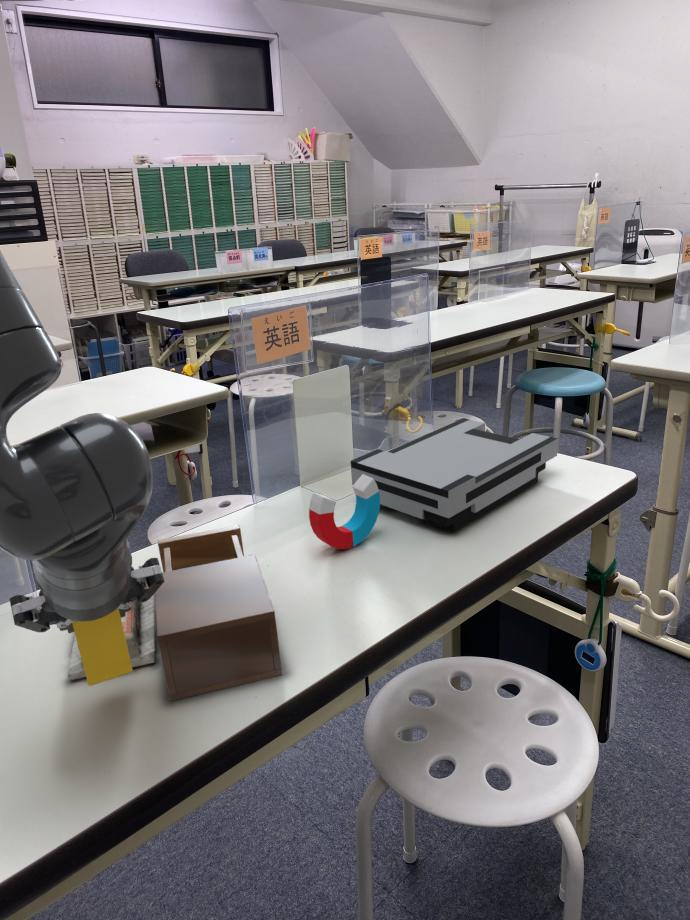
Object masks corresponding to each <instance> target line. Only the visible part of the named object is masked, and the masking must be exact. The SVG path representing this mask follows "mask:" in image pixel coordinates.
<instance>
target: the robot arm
mask: <svg viewBox="0 0 690 920" xmlns="http://www.w3.org/2000/svg"><path fill="white" fill-rule="evenodd" d="M62 368H63V367H62V360H61V358H60V355H59V353H58V351H57V349H56V347H55V345H54V344H53V341H52V340H51V338H50V336H49V334H48V333H47V331H46V330H45V328H44V325H43V324H42V322H41V320H40V318H39V317H38V314H37V313H36V312H35V310H34V308H33V306H32V305H31V303H30V301H29V299H28V297H27V295H26V294H25V292H24V290H23V288H22V287H21V286H20V283H19V281H18V279H17V278H16V277H15V274H14V273H13V271H12V269H11V268H10V266H9V264H8V262H7V260H6V259H5V256H4V255H3V253H2V250H0V549H1V550H2V551H3V552H5V553H6V554H8V555H10V556H13V557H14V558H18V559H20V560H23V561H31V562H32V570H33V574H34V576H35V583H36V585H37V586H38V589H39V592H38V596H35V597H34V595H27V596H26V595H24V594H16V595H14V596H11V597H10V598H9V603H10V604H9V605H10V609H11V610H10V611H11V615H12V618H13V619H12V620H13V624H14V626H15V627H20V628H23V629H25V630H29V631H32V632H35V633H45V632H48V631H49V630H50V629H51V626H53V625H56V628H57V629H59V632H60V631H61V632H64V631H67V633H68V634H72V633H75V632H74V628H73V624H72V623H74V622H77V621H93V620H97V619H100V618H102V617H105V616H107V615H108V614H110V613H112V612H113V611H115V610H117V609H119V612H120V617H121V618H122V617H125V616H126V614H125V612H127V611H130V610H131V606H132V602H133V601H135V600H138V602H146V601H147V600H149V599H150V598H151V597H152V596H153V594H154V593H155V592H156V591H157V590H158V589H159V587H160V586H161V585H162V584H163V583H164V578H163V574H162V573H163V570H162V566H161V564H160V562H159V557H150V558H149V559H147V560H145V562H144V563H143V564H140V565H139V566H138V568H134V567H133V555H132V552H131V546H130V543H129V539H128V537H129V536H130V535H131V533H132V532H133V531H134V529H135V527H136V526H137V524H138V523H139V522H140V520H141V518H142V517H143V515H144V514H145V512H146V511H147V508H148V505H149V503H150V500H151V497H152V493H153V488H154V487H153V486H154V474H153V473H154V472H153V464H152V460H151V456H150V454H149V450H148V448H147V446H146V444H145V442H144V440H143V439H142V437H141V436H140V434H139V433H138V431H136V430H135V429H134V428H133V426H131V425H130V424H129V423H128V422H126V421H124V420H123V419H120V417H117V416H115V415H112V414H108V413H104V412H103V413H102V412H94V413H87V414H84V415H80V416H77V417H76V418H73V419H70V420H68V421H66V422H64V423H61V424H60V425H58V426H55V427H54V428H51V429H49V430H47V431H44V432H43V433H40V434H38V435H36V436H34V437H31V438H29V439H27V440H25V441H23V442H20V443H19V444H15V445H11V444H10V441H9V439H8V433H7V428H8V423H9V422H10V420H11V418H12V417H13V416H14V414H16V413H17V412H18V411H19V410H20V409H21V408H22V407H24V406H25V405H26V404H28V403H29V402H31V401H32V400H34V399H35V398H36V397H38V396H40V395H41V394H42V393H44V392H45V391H46V390H48V389H49V388H50V387H52V386H53V384H55V382H56V381H57V380H58V379H59V377H60V375H61V374H62Z"/></svg>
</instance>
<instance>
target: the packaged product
mask: <svg viewBox="0 0 690 920" xmlns="http://www.w3.org/2000/svg"><path fill="white" fill-rule="evenodd" d="M125 614H126V616H125V617H122V618H121V621H122V626H123V630H124V634H125V639H126V643H127V647H128V652H129V656H130V660H131V665H132V668H136V667H140V666H144V665H145V666H146V665H150V664H154V663H155V659H156V643H155V642H156V631H157V620H156V601H155V593H154V594H153V596H152V597H151V598H150V599H149V600H147V601H146V602H138V600H135V601H133V602H132V606H131V610H130V611H127V612H125ZM67 677H68V678H69V679H70V680H71V681H72V680H77V679H82V678H86V674H85V670H84V667H83V663H82V659H81V655H80V651H79V647H78V644H77V640H76V636H75V635H74V640H73V643H72V649H71V655H70V661H69V667H68V673H67Z"/></svg>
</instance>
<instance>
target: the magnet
mask: <svg viewBox="0 0 690 920" xmlns="http://www.w3.org/2000/svg"><path fill="white" fill-rule="evenodd" d="M351 487H352V490H353V492H354V494H355V503H356V504H355V508H354V511H353V513H352V516H351V518H349V520H348V521H346V522H345V523H344V524H343V525H340V526H337V525H336V522H335V509H336V504H337V501H336V500H335V499H332V498H330V497H329V496H327V495H323V494H320V493H318V492H312V495H311V498H310V501H309V508H308V520H309V525H310V527H311V530H312V532H313V534H314V535H315V537H316V538H317V539H318V540H319V541H321V542H322V543H324V544H326V545H328V546H330V547H331V548H334V549H337V550H347V549H351V548H354V547H356V546H357V545H360V544H361V543H362V542H363V541H364V540H365V539H367V537H368V536H369V535H370V534H371V532H372V531H373V529H374V527H375V525H376V523H377V521H378V517H379V514H380V509H381V506H380V495H379V490H378V487H377V484H376V482H375V481H374V479H373V478H371V477H368V476H366V475H364V474H362V475H361V476H360V478H359V479H358V480H357V481H356V482H355V484H354V485H351Z"/></svg>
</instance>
